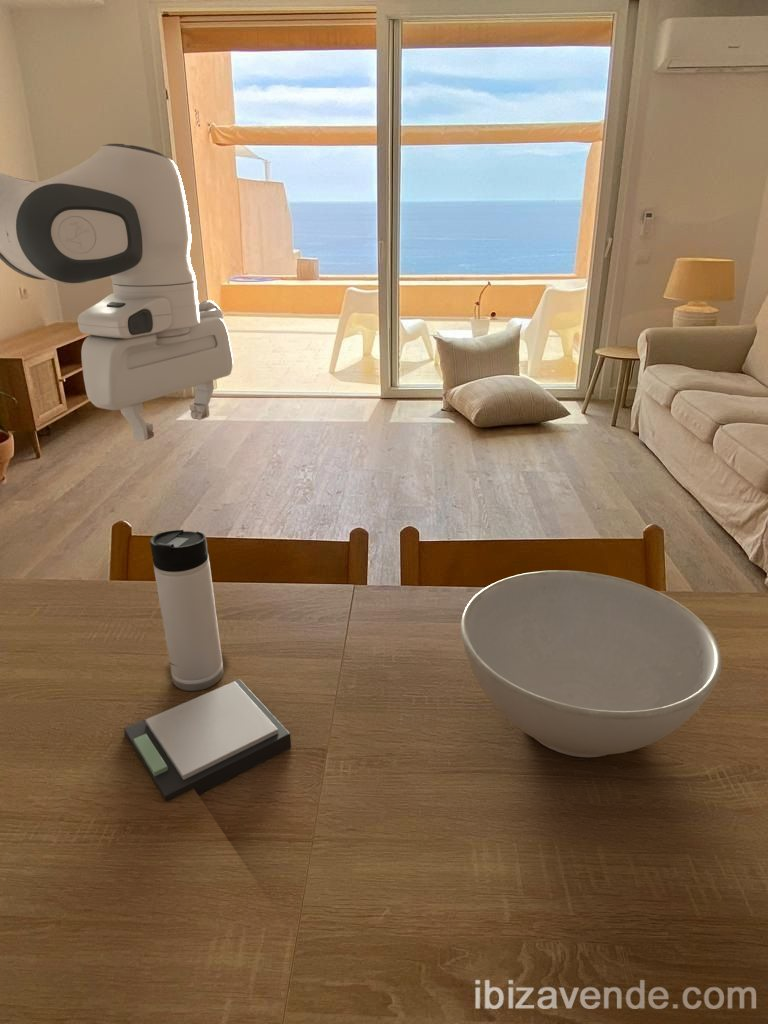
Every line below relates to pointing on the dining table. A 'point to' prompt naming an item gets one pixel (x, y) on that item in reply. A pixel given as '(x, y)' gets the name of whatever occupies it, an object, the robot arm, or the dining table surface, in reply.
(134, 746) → the kitchen scale
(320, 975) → the dining table surface
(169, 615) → the travel mug
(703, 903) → the dining table surface
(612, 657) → the decorative bowl
